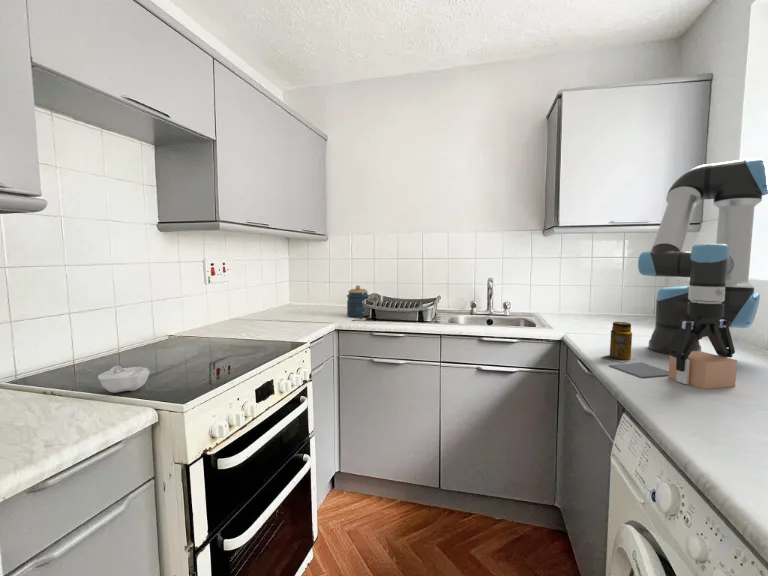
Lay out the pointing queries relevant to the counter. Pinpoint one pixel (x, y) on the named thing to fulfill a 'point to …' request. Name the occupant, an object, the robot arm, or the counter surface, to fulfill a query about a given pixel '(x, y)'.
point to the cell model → (123, 378)
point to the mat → (641, 370)
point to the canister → (356, 302)
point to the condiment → (620, 342)
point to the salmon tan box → (707, 370)
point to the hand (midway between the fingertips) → (700, 381)
